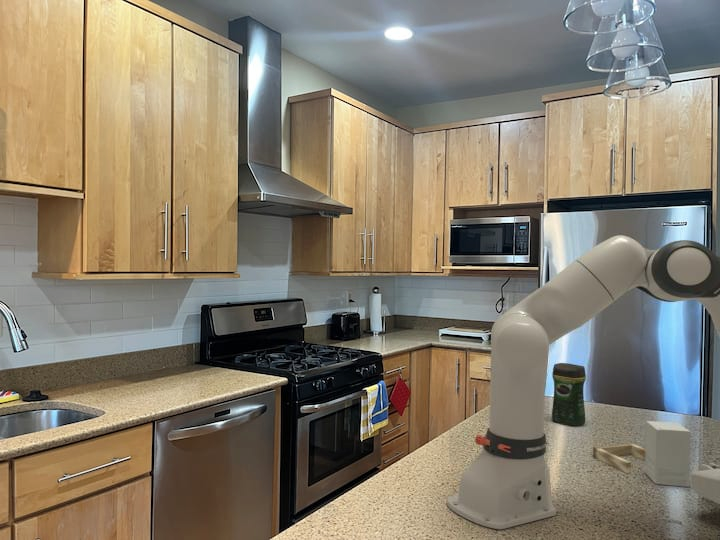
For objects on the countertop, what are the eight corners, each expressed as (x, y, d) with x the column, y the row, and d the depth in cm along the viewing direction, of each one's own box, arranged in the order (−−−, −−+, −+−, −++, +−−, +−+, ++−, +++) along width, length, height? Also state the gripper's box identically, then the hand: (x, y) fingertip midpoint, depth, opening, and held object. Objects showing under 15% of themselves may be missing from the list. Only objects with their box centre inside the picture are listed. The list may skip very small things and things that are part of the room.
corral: (667, 468, 131) (667, 458, 131) (626, 473, 128) (626, 462, 128) (631, 452, 142) (631, 443, 142) (593, 456, 138) (593, 447, 138)
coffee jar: (588, 423, 168) (590, 364, 168) (577, 428, 163) (578, 367, 163) (559, 416, 175) (560, 360, 175) (547, 421, 170) (548, 363, 170)
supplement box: (690, 487, 120) (691, 431, 120) (654, 484, 121) (655, 429, 121) (677, 475, 127) (679, 422, 127) (644, 472, 128) (645, 419, 128)
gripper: (810, 471, 105) (741, 448, 118) (732, 482, 99) (668, 456, 112) (809, 503, 105) (740, 476, 118) (731, 516, 99) (667, 486, 112)
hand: (704, 467), depth 115 cm, fingers closed
